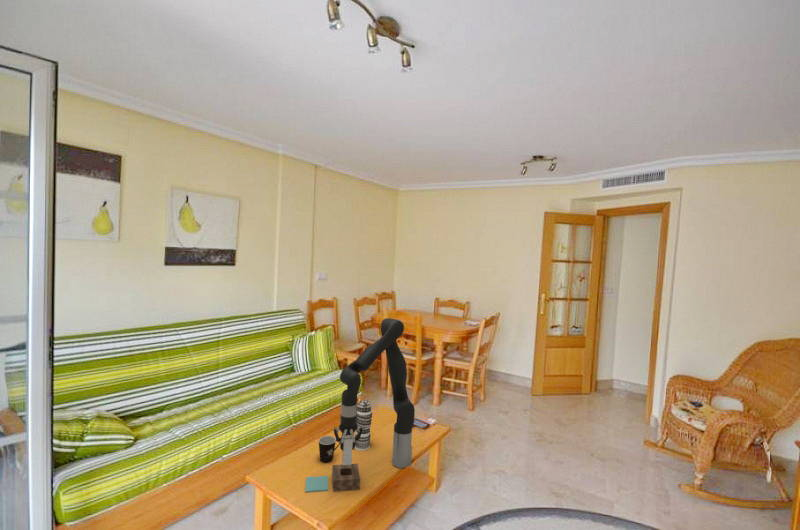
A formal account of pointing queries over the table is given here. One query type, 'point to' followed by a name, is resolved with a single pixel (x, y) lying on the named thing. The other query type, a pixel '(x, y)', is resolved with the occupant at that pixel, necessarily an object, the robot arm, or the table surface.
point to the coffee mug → (327, 448)
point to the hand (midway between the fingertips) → (347, 449)
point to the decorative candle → (363, 425)
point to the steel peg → (347, 450)
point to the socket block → (345, 477)
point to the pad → (316, 484)
